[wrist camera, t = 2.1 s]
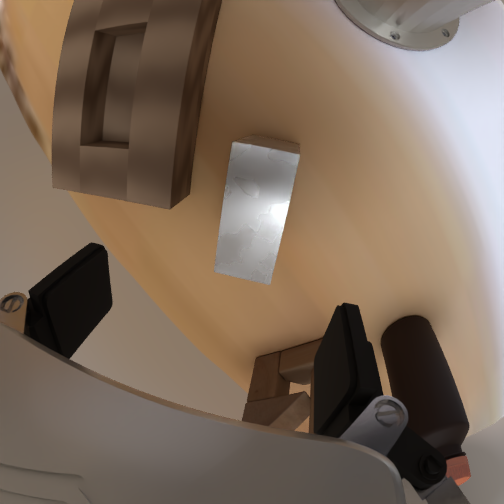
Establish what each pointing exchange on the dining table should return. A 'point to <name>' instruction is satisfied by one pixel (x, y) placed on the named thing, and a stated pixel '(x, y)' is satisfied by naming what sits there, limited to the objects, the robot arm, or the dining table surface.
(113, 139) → the post base
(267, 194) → the grey bar
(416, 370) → the bottle
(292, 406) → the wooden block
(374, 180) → the dining table surface
